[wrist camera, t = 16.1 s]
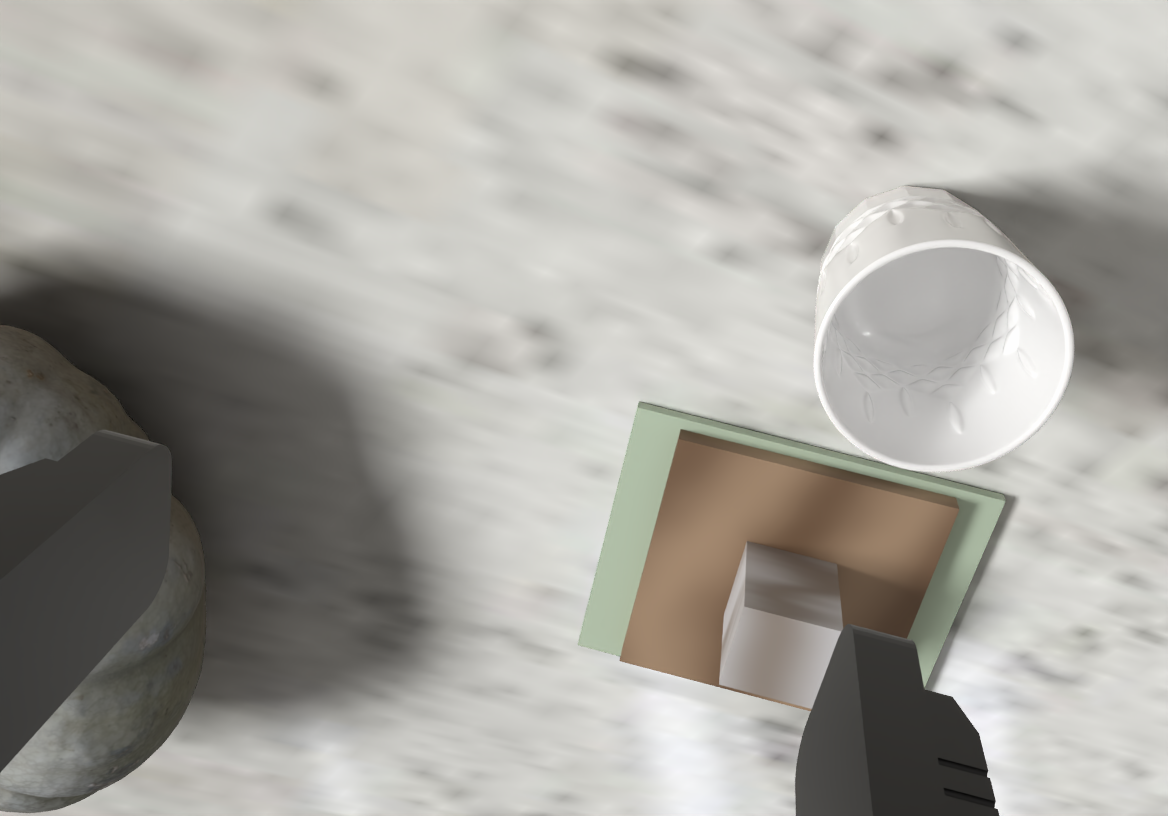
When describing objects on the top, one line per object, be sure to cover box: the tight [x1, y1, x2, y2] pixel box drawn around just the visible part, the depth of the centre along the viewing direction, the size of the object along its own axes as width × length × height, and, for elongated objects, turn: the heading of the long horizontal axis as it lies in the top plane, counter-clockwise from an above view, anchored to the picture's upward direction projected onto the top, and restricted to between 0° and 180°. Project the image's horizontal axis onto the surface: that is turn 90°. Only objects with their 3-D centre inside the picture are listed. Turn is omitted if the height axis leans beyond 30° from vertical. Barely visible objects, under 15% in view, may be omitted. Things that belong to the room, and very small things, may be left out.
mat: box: [578, 402, 1006, 688], centre depth 50 cm, size 16×13×1 cm
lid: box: [620, 429, 960, 711], centre depth 47 cm, size 12×12×6 cm
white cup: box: [814, 186, 1074, 472], centre depth 39 cm, size 8×8×10 cm
